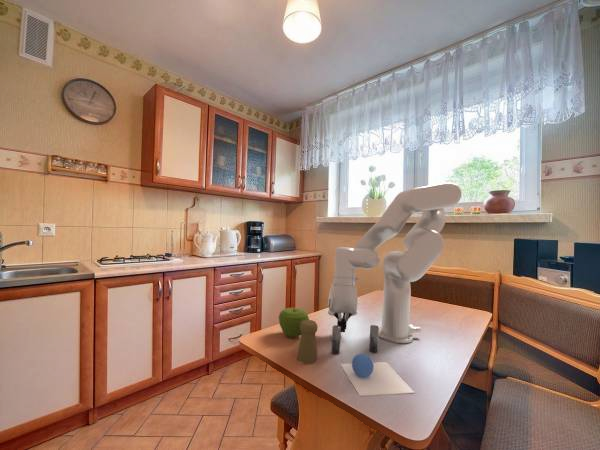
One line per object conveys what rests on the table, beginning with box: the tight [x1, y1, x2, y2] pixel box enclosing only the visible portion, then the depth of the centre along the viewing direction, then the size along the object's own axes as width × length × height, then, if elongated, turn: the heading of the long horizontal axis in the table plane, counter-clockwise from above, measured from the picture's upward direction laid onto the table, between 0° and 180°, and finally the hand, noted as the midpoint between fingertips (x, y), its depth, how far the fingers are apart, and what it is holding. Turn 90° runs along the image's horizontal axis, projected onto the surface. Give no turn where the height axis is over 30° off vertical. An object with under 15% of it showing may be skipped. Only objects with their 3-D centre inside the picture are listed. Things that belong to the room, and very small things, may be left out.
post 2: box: [368, 324, 380, 354], centre depth 83 cm, size 3×3×8 cm
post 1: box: [330, 324, 342, 355], centre depth 81 cm, size 3×3×8 cm
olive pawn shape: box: [296, 319, 318, 365], centre depth 77 cm, size 6×6×11 cm
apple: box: [278, 307, 310, 339], centre depth 92 cm, size 11×10×10 cm
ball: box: [351, 353, 374, 377], centre depth 69 cm, size 6×6×6 cm
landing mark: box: [340, 361, 415, 397], centre depth 69 cm, size 14×14×1 cm
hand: (341, 330), depth 95 cm, fingers closed
